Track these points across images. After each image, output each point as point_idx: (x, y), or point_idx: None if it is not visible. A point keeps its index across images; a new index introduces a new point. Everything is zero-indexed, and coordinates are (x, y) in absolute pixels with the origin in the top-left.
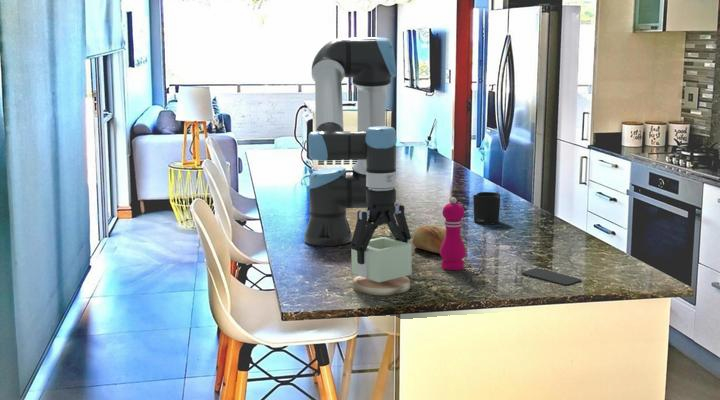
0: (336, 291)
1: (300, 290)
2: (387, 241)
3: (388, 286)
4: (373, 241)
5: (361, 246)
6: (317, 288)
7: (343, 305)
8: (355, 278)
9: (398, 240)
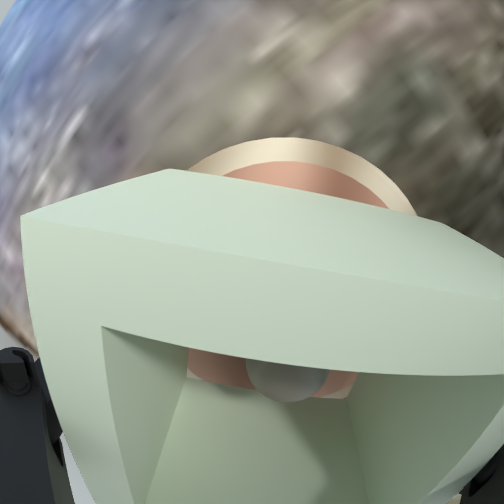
0: (84, 175)
1: (19, 65)
2: (477, 417)
3: (224, 381)
4: (394, 365)
5: (43, 421)
6: (65, 81)
7: (27, 313)
8: (224, 156)
9: (493, 460)
